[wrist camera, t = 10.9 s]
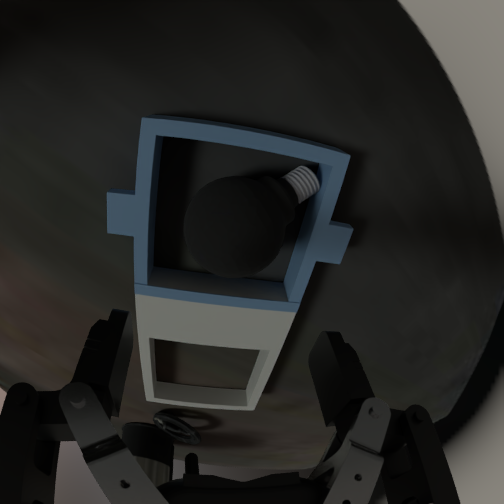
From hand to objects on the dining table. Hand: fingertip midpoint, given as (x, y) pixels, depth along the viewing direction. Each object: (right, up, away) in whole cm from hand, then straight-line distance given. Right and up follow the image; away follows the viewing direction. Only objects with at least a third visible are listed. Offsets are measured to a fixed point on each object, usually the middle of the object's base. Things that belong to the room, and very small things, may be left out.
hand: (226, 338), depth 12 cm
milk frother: (-14, -24, +27) cm, 39 cm away
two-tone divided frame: (-2, -1, +14) cm, 14 cm away
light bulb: (+1, +8, +9) cm, 12 cm away
